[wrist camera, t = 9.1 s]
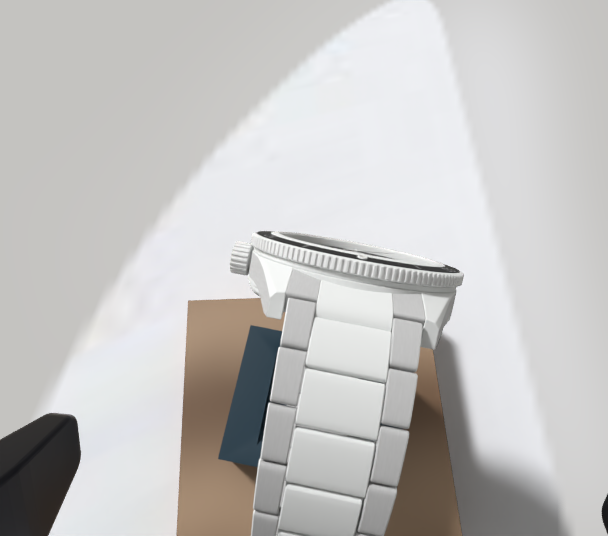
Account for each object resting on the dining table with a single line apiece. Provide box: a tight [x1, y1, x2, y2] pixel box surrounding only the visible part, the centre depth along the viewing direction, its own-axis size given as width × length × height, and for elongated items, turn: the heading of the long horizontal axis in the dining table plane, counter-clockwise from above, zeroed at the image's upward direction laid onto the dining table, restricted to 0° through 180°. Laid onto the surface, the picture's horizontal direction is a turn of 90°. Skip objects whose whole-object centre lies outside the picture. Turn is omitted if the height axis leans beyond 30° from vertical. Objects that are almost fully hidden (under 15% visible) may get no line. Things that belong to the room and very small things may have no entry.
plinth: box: [177, 298, 462, 536], centre depth 19 cm, size 10×10×2 cm
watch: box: [218, 231, 464, 536], centre depth 13 cm, size 6×8×11 cm
